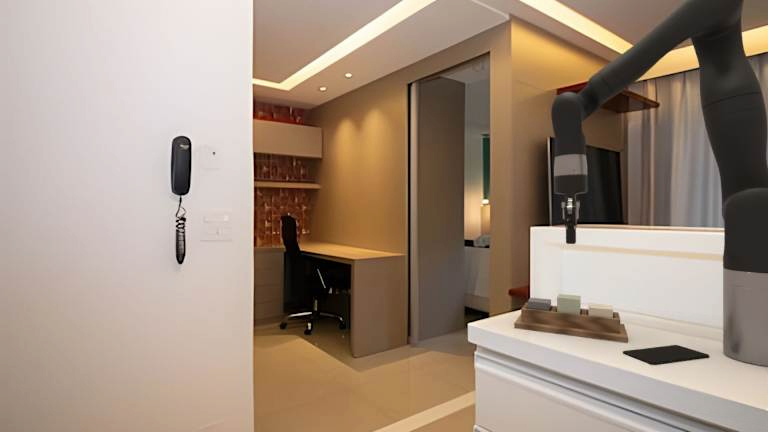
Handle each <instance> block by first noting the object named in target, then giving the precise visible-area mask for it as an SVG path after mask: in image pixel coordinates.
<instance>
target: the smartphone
mask: <svg viewBox="0 0 768 432" xmlns="http://www.w3.org/2000/svg"><path fill="white" fill-rule="evenodd" d="M622 354H623V355H624V356H627V357H630V358H632V359H636V360H638V361H641V362H643V363H646V364H648V365H650V366H660V365H668V364H674V363H680V362H688V361H690V362H691V361H695V360H703V359H709V358H711V357H710V355H709V354H708V353H705V352H702V351H699V350H696V349H692V348H689V347H686V346H682V345H678V344H670V345H663V346H653V347H645V348H638V349H637V348H636V349H630V350H629V349H628V350H623V351H622Z"/></svg>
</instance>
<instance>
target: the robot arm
mask: <svg viewBox="0 0 768 432" xmlns="http://www.w3.org/2000/svg"><path fill="white" fill-rule="evenodd" d="M744 2H745V0H684V1H682V2H681V3H680V5H678V6H677V7H676V8H675V9H674V10H673V11H672V12H671V13H670V14H669V15H668V16H667V17H666V18H664V19H663V20H662V21H661V22H660V23H658V25H656V26H655V27H654V28H652V30H650V32H648V33H647V34H646V35H645V36H644V37H642V38H641V39H640V40H638V41H637V42H636V43H635V44H634V45H632V46H631V47H630V48H628V49H626V51H624V52H623V53H622V54H620V55H619V56H618V57H616V58H615V59H614V60H612V61H610V62H609V63H608V64H606V65H605V66H604V67H602V68H601V69H600V70H598V71H597V72H596V73H594V74H593V75H592V76H591V77H589V78H588V80H587V84H586V86H585V87H583V88H582V89H581V90H580V91H579V92H578V93H576V92H571V91H565V92H562V93H560V94H559V95H557V96H556V97H555V99H554V101H553V102H552V105H551V109H550V112H551V114H550V117H551V124H552V125H551V126H552V129H553V130H552V131H553V133H554V134H553V135H554V140H555V141H554V163H553V184H554V185H553V190H554V191H553V193H554V194H556V195H564V200H561V208H562V220H564V224H563V225H564V228H565V243H566V244H567V245H575V244H576V243H577V227H578V222H577V220H578V219H579V210H580V206H581V205H580V200H577V195H578V194H579V195H580V194H581V195H583V194H586V193H587V192H588V162H587V161H588V160H587V145H586V144H587V141H586V135H585V134H584V131H583V122H584V121H585V120H587V119H588V118H589V117H591V116H592V115H593V114H595V112H597V111H598V110H599V109H600V108H601V107H602V106H603V105H604V104H605V103H607V102H608V101H609V100H610V99H612V98H614V97H615V96H617V95H618V94H619V93H621V92H623V91H624V90H626V89H627V88H629V87H630V86H632V85H633V84H634V83H636V82H637V81H638V80H640V79H641V78H642V77H644V75H646V73H648V72H649V71H650V70H651V69H652V68H653V67H654V66H655V65H656V64H657V63H659V61H661V60H662V59H663V58H664V57H665V56H666V55H667V54H668V53H670V52H671V51H672V50H674V49H676V47H678V46H679V45H681V44H682V43H684V42H685V41H687V40H688V39H689V40H691V44H692V47H693V49H694V52H695V55H696V58H697V59H696V60H697V62H698V69H699V96H700V104H701V111H702V117H703V121H704V126H705V129H706V133H707V137H708V140H709V143H710V147H711V150H712V153H713V156H714V159H715V161H716V164H717V168H718V173H719V179H720V190H721V215H722V220H723V222H724V223H723V225H724V226H723V227H724V233H723V234H724V237H723V238H724V239H723V241H724V246H723V255H722V332H723V333H722V352H723V354H724V355H725V356H728V357H729V358H732V359H734V360H736V361H737V360H738V361H741V362H745V363H749V364H753V365H759V366H766V367H768V161H767V152H768V151H767V150H768V147H767V146H768V117H767V116H768V115H767V109H766V103H765V100H764V94H763V90H762V88H761V84H760V82H759V80H758V79H759V78H758V77H757V74H756V72H755V71H754V68H753V66H752V65H751V62H750V61H749V59H748V57H747V55H746V52H745V48H744V41H743V32H742V31H743V29H742V13H743V6H744Z"/></svg>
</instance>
